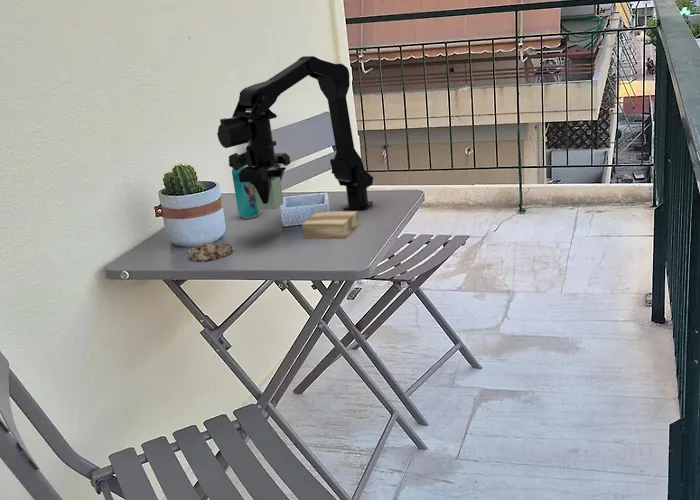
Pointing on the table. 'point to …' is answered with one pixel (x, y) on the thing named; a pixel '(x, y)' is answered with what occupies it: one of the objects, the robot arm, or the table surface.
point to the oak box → (330, 224)
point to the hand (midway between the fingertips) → (269, 200)
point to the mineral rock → (209, 252)
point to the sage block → (271, 195)
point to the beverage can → (245, 196)
